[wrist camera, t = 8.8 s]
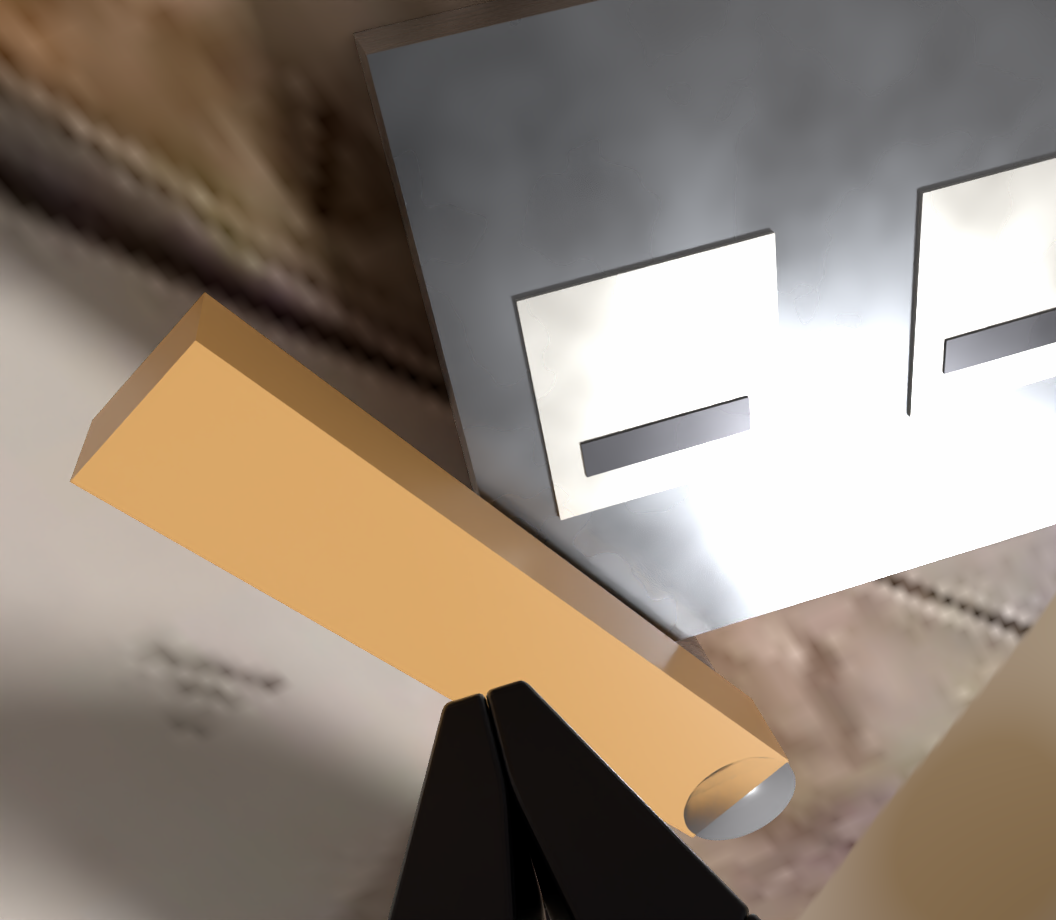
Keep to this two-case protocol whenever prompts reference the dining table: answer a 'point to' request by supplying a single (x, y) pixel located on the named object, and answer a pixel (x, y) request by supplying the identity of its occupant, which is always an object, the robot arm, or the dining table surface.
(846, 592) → the dining table surface
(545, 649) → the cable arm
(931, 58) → the power supply unit
